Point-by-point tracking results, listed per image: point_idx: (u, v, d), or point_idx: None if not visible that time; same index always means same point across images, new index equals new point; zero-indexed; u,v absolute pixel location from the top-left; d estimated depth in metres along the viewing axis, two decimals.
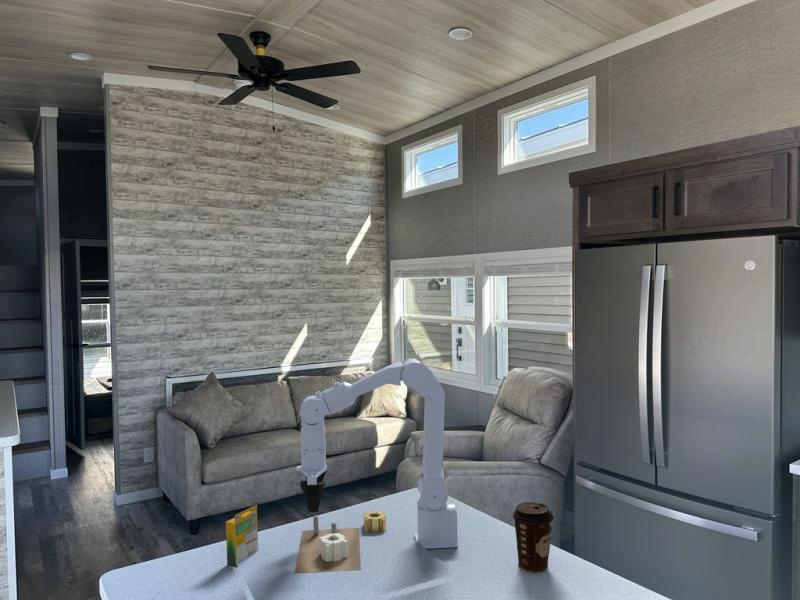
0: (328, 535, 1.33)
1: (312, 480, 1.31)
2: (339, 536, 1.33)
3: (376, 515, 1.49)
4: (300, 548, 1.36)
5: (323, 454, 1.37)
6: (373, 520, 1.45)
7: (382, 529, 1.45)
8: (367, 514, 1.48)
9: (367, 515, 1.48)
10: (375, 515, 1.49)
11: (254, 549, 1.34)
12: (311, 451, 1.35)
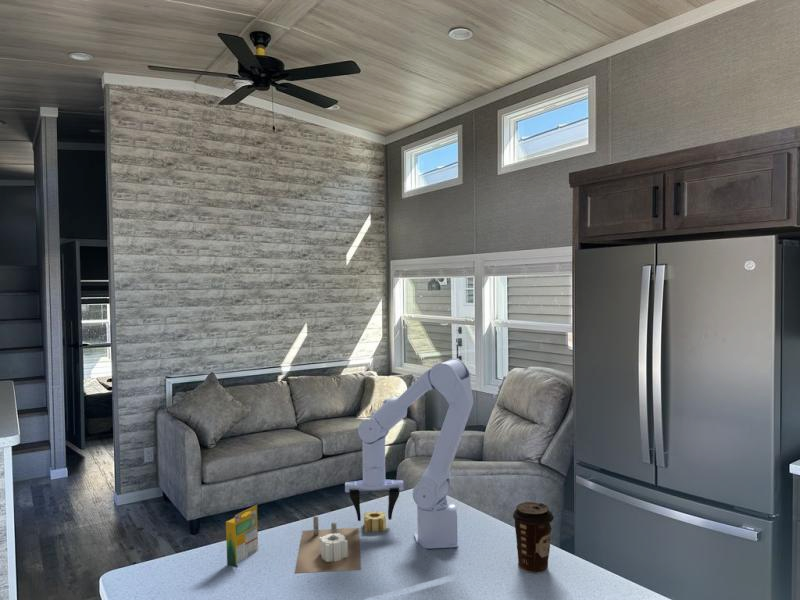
0: (328, 535, 1.33)
1: (345, 487, 1.47)
2: (339, 536, 1.33)
3: (376, 515, 1.49)
4: (300, 548, 1.36)
5: (368, 473, 1.45)
6: (373, 520, 1.45)
7: (382, 529, 1.45)
8: (367, 514, 1.48)
9: (367, 515, 1.48)
10: (375, 515, 1.49)
11: (254, 549, 1.34)
12: None
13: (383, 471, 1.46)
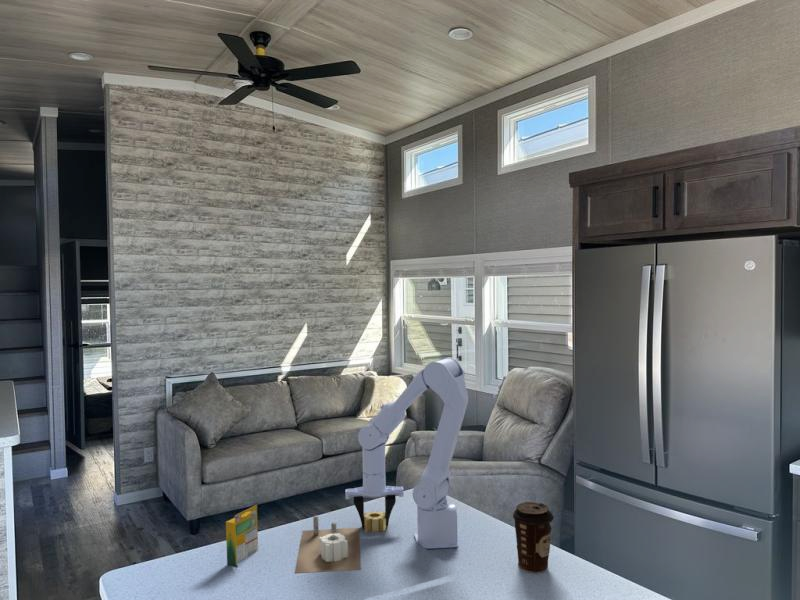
0: (328, 535, 1.33)
1: (345, 494, 1.47)
2: (339, 536, 1.33)
3: (376, 515, 1.49)
4: (300, 548, 1.36)
5: (368, 479, 1.45)
6: (373, 520, 1.45)
7: (382, 529, 1.45)
8: (367, 514, 1.48)
9: (367, 515, 1.48)
10: (375, 515, 1.49)
11: (254, 549, 1.34)
12: None
13: (383, 478, 1.46)
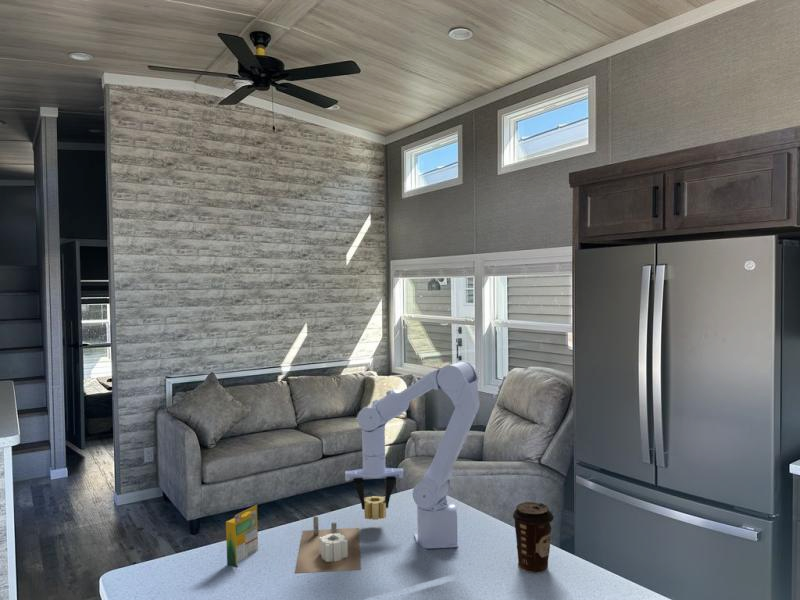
0: (328, 535, 1.33)
1: (345, 476, 1.47)
2: (339, 536, 1.33)
3: (376, 500, 1.49)
4: (300, 548, 1.36)
5: (368, 461, 1.45)
6: (373, 504, 1.45)
7: (382, 513, 1.45)
8: (367, 498, 1.48)
9: (367, 499, 1.47)
10: (375, 500, 1.49)
11: (254, 549, 1.34)
12: (362, 453, 1.47)
13: (383, 459, 1.46)
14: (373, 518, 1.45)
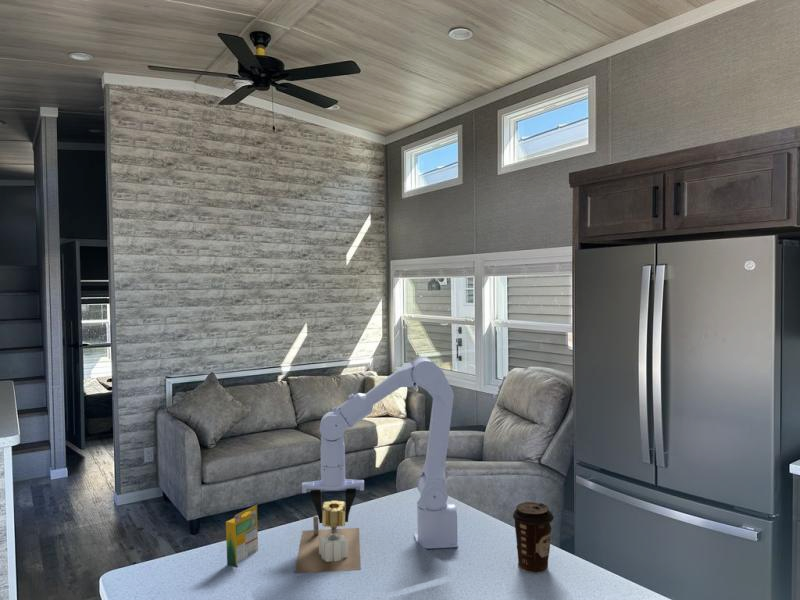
0: (328, 535, 1.33)
1: (302, 487, 1.38)
2: (339, 536, 1.33)
3: (336, 505, 1.40)
4: (300, 548, 1.36)
5: (326, 472, 1.36)
6: (332, 512, 1.36)
7: (341, 521, 1.37)
8: (326, 504, 1.40)
9: (326, 505, 1.39)
10: (335, 505, 1.40)
11: (254, 549, 1.34)
12: None
13: (342, 470, 1.37)
14: (331, 526, 1.37)
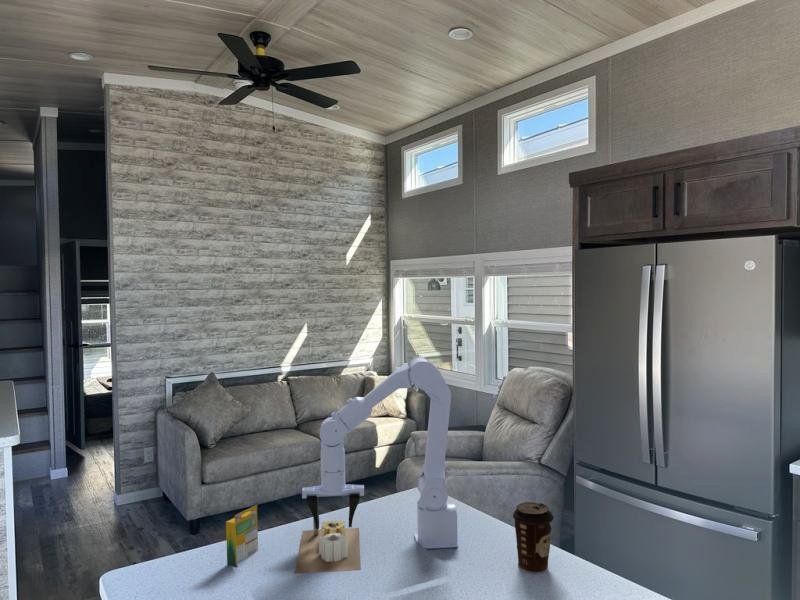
0: (328, 535, 1.33)
1: (302, 493, 1.38)
2: (339, 536, 1.33)
3: None
4: (300, 548, 1.36)
5: (326, 477, 1.36)
6: (331, 530, 1.37)
7: None
8: (325, 523, 1.40)
9: (325, 525, 1.39)
10: None
11: (254, 549, 1.34)
12: None
13: (342, 476, 1.37)
14: None
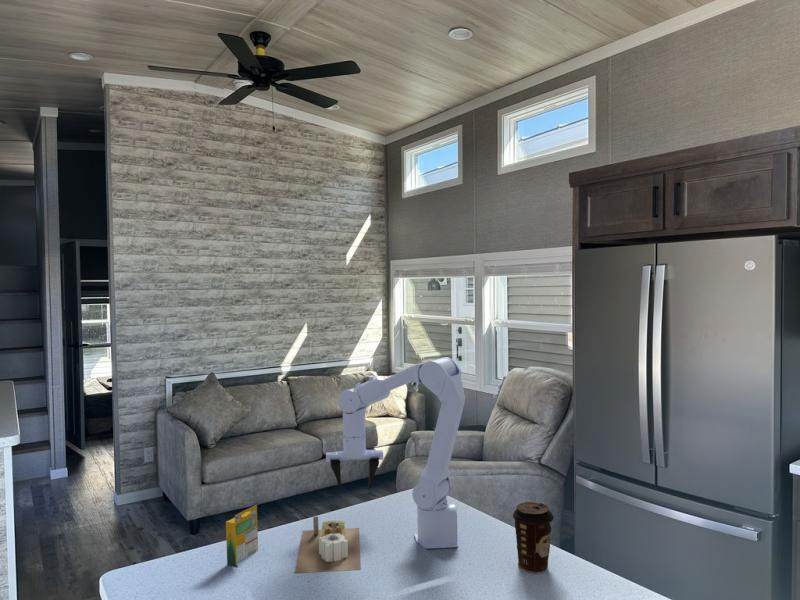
0: (328, 535, 1.33)
1: (326, 457, 1.50)
2: (339, 536, 1.33)
3: None
4: (300, 548, 1.36)
5: (348, 442, 1.48)
6: (331, 530, 1.37)
7: None
8: (325, 523, 1.40)
9: (325, 525, 1.39)
10: None
11: (254, 549, 1.34)
12: (343, 435, 1.50)
13: (363, 441, 1.49)
14: None
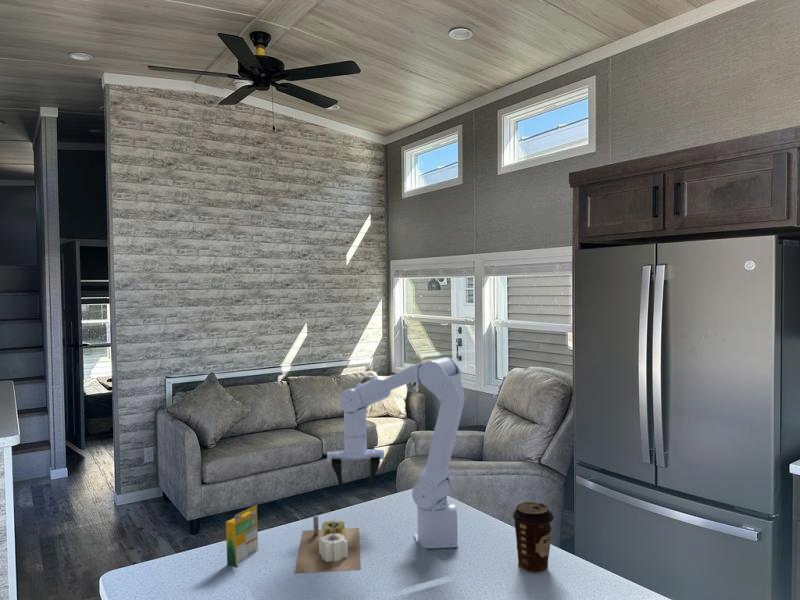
0: (328, 535, 1.33)
1: (327, 456, 1.50)
2: (339, 536, 1.33)
3: None
4: (300, 548, 1.36)
5: (349, 442, 1.48)
6: (331, 530, 1.37)
7: None
8: (325, 523, 1.40)
9: (325, 525, 1.39)
10: None
11: (254, 549, 1.34)
12: None
13: (364, 440, 1.49)
14: None
